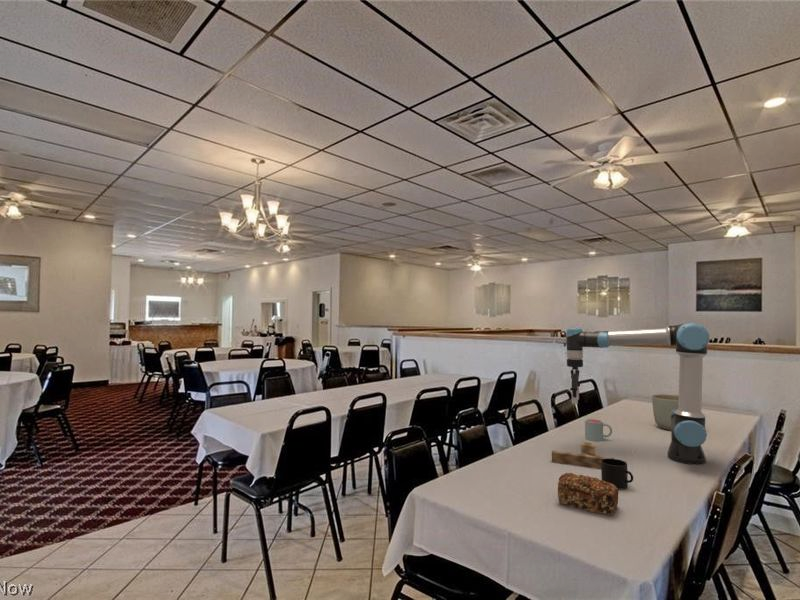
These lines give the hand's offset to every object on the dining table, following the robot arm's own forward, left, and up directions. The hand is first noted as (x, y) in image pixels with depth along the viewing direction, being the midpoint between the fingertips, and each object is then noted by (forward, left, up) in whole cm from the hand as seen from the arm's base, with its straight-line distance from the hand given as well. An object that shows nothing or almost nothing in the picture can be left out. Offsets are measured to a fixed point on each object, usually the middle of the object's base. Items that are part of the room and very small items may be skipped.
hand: (575, 401), depth 216 cm
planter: (-50, -76, -26) cm, 94 cm away
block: (-6, +3, -25) cm, 26 cm away
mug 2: (-18, +38, -26) cm, 49 cm away
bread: (-8, +63, -26) cm, 69 cm away
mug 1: (-10, -31, -26) cm, 41 cm away
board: (-4, +18, -25) cm, 31 cm away
